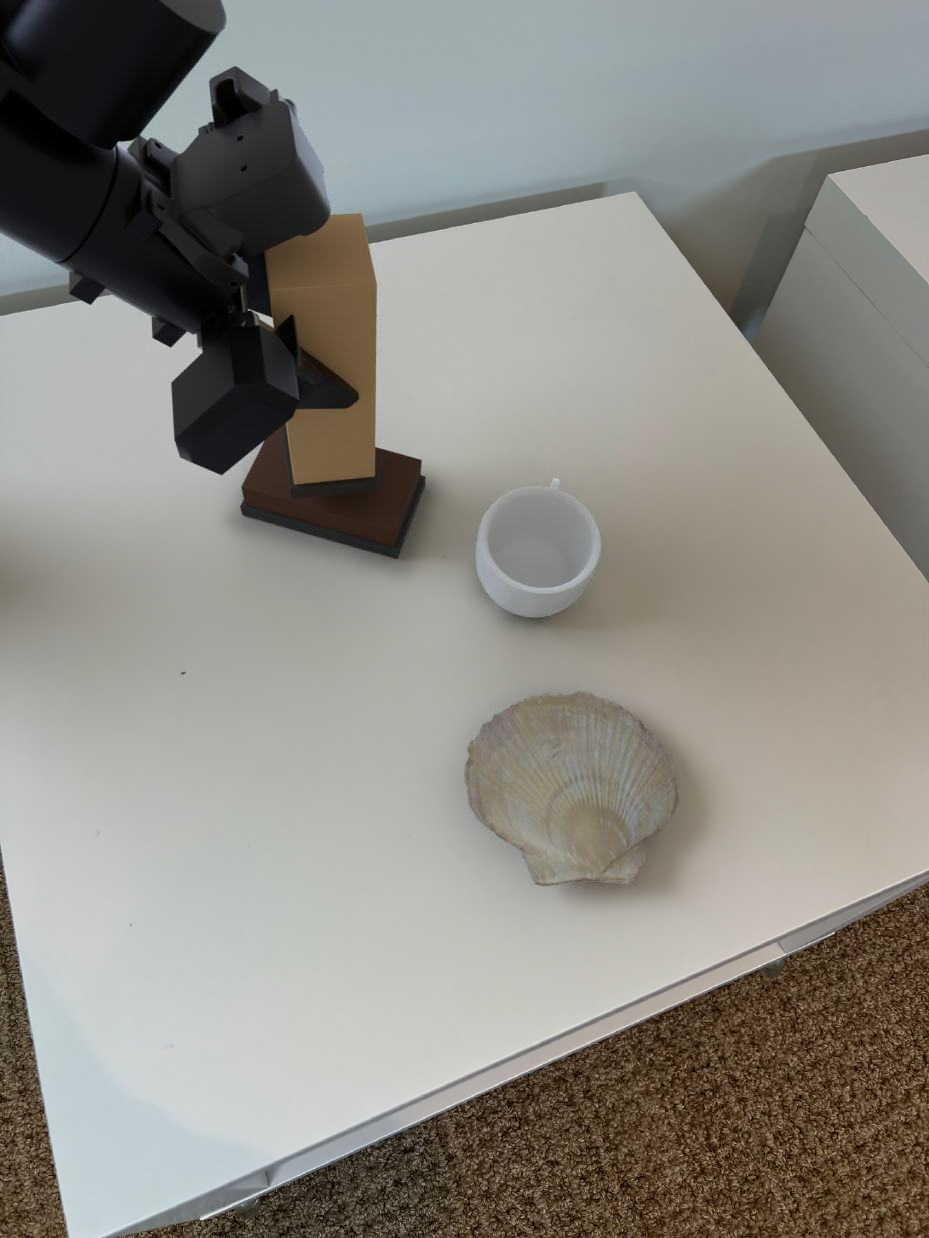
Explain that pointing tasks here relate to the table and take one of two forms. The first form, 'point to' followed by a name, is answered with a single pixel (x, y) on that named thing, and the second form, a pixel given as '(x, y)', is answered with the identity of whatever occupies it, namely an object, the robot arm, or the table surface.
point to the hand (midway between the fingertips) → (347, 365)
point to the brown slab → (337, 501)
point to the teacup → (537, 550)
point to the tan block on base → (330, 352)
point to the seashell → (571, 786)
